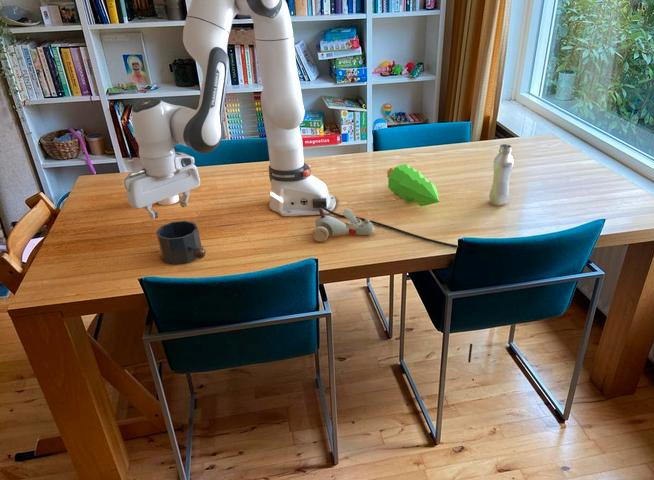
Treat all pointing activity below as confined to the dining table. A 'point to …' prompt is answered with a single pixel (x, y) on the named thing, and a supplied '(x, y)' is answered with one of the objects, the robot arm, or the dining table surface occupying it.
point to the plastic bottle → (501, 176)
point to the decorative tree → (411, 185)
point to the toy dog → (340, 226)
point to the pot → (180, 242)
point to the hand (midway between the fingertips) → (169, 211)
